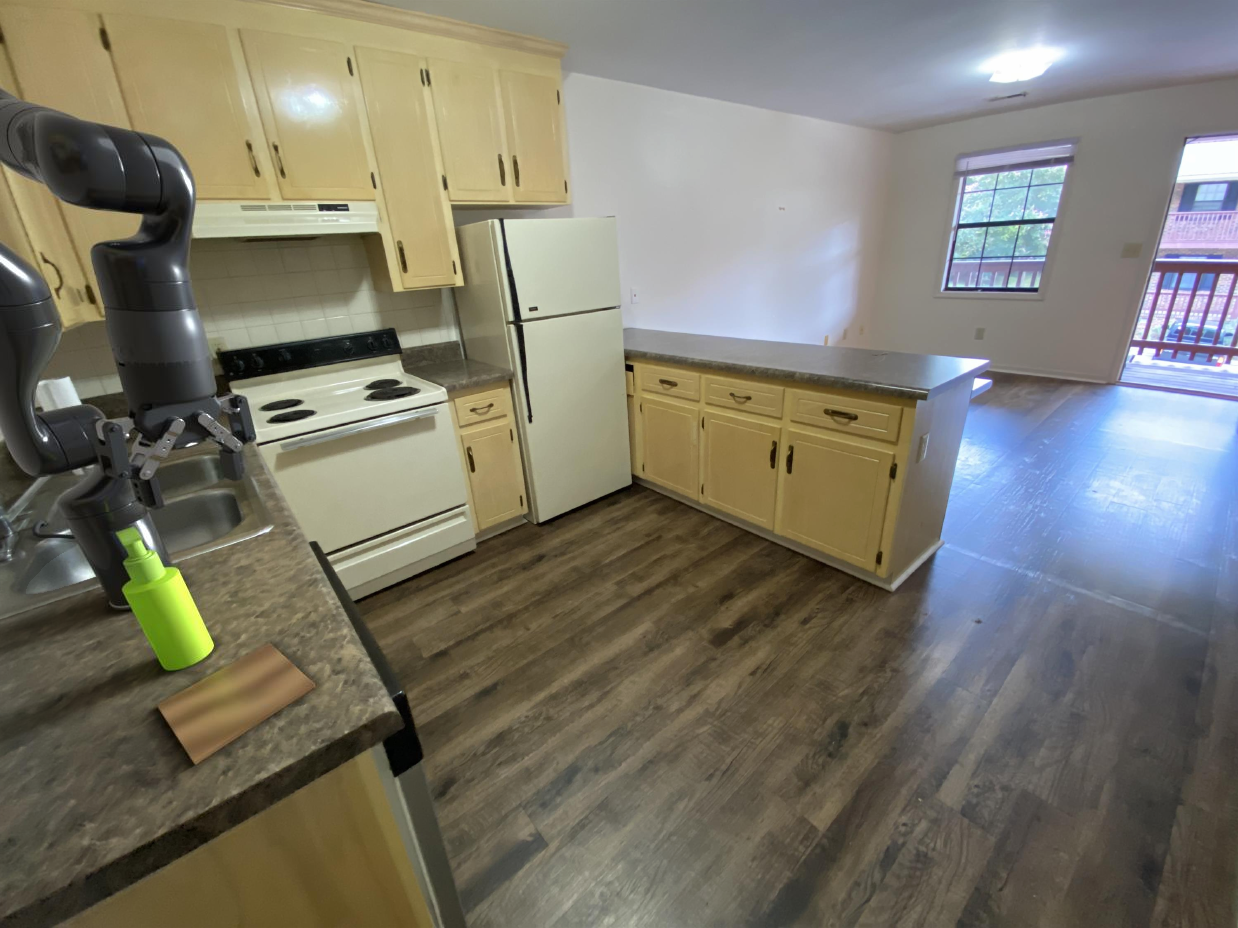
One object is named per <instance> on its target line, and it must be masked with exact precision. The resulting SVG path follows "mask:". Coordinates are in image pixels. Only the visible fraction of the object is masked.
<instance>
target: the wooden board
mask: <svg viewBox="0 0 1238 928" xmlns="http://www.w3.org/2000/svg"><path fill="white" fill-rule="evenodd" d="M314 689H316V685H315V683H314V682H313V681H312V680H311V679H310V678H308V676H306V674H304V673H303V672H302V671H301V670H300V669H299V668H298V667H296V666H295V665H294V664H293V663H292V662H291V661H290V660H289V659H288V658H287V657H286V656H285V655H283V653H282V652H280V651H279V650H278V649H277V648H275V646H273V644H271V643H270V642H268V643H266V644H265V645H263V646H261V647H259V648H257V649H256V650H253V651H251V652H249V653H248V654H245V656H242V657H241V658H239V659H238V660H236V661H234V662H232V663H230V664H228V665H227V666H226V665H225V666H224V667H223V668H221V669H219V670H217V671H216V672H213V673H212V674H209V675H208V676H206V677H205V678H203V679H200V681H197V682H196V683H194V684H192V685H190V686H188V687H186V688H185V689H183V690H181V691H179V692H178V693H176V694H174V695H172V696H170V697H168V698H166V699H165V700H163V701H161V702H159V703H157V704H156V707H157V708H158V711H159V713H160V714H161V715H162V716H163V718H164V719H165V721H166V723H167V724H168V726H169V727H170V729H171V731H172V732H173V734H174V735H175V737H176V738H177V740H178V741H179V743H180V745H181V746H182V748H183V750H185V752H186V754H187V755H188V757H189V759H190V760H191V762H192V763H193V765H194V766H197V765H198V764H199V763H201V762H203V761H204V760H205V759H207V758H208V757H210V756H212V755H214V754H215V753H216V752H218V751H219V750H221V749H223V748H224V747H225V746H227V745H228V744H230V743H232V742H233V741H235V740H236V739H238V738H239V737H241V736H242V735H244V734H245V733H247V732H249V731H250V730H252V729H253V728H254V727H257V726H258V725H260V724H262V723H263V722H264V721H265V720H267V719H268V718H270V717H272V716H273V715H275V714H276V713H278V712H279V711H281V710H283V709H284V708H285V707H287V706H289V705H290V704H291V703H293V702H295V701H296V700H298V699H299V698H301V697H302V696H304V695H306V694H307V693H308V692H311V691H312V690H314Z"/></svg>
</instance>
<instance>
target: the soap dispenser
mask: <svg viewBox="0 0 1238 928" xmlns="http://www.w3.org/2000/svg"><path fill="white" fill-rule="evenodd" d="M115 533H116V535H117V536H118V538H119V540H120V541H121V543H122V545H123V546H124V547H125V549H126V551H127V553H128V555H129V557H128V558H127V559H125V560H124V562H123V564H124V567H125V568H126V570H127V572H128V574H129V576H130V578H131V580H130V581H129V582H127V583H126V584H125V585H124V586H123V588H122V592H123V593H124V595H125V597H126V599H127V601H128V603H129V605H130V607H131V608H132V609H131V610H132V613H133V614H134V616H135V618H136V620H137V622H138V623H139V626H140V627H141V629H142V631H143V633H144V635H145V636H146V637H145V638H147V641H148V642H149V644H150V646H151V648H152V650H153V651H154V653H155V655H156V657H157V659H158V661H159V663H160V665H161V666H162V669H164V670H166V671H178V670H182V669H185V668H188V667H191V666H193V665H195V664H197V663H198V662H200V661H202V660H204V659H205V658H206V657H207V656H208V655H209V654H210V653H211V652H212V651H213V649H214V646H215V645H214V641H213V639H212V637H211V635H210V633H209V631H208V628H207V627H206V625H205V623H204V620H203V618H202V615H201V614H200V611H199V610H198V607H197V605H196V604H195V601H194V600H193V597H192V595H191V593H190V591H189V588H188V587H187V585H186V582H185V580H184V578H183V576H182V574H181V572H180V569H179V568H177V567H176V566H174V567H166V568H164V567H163V565H162V563H161V560H160V558H159V556H158V554H157V552H156V551H152V550H151V551H149V550H146V549H145V547H144V545H143V543H142V541H141V540H142V538H141V536H140V534H139V533H138V531H137V530H136V528H135V527H131V528H128V529H125V530H122V531H118V532H115Z"/></svg>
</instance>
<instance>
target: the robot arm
mask: <svg viewBox="0 0 1238 928" xmlns="http://www.w3.org/2000/svg"><path fill="white" fill-rule="evenodd" d="M0 163H1V164H2V165H4V166H6V168H8V169H9V170H11V171H13V172H14V173H17V174H18V175H20V176H21V177H24V178H26V179H29V180H31V181H33V182H36V183H38V184H42V185H44V186H45V187H46V188H47V189H48V190H49V192H50V193H51V194H52V195H53V196H54V197H56V198H57V199H58V200H59V201H61V202H63V203H66V204H68V205H71V206H75V207H78V208H83V209H88V210H93V211H102V212H114V213H124V214H132V215H133V214H134V215H142V216H141V221H140V224H139V227H138V229H137V232H136V233H135V234H134V235H131V236H129V237H123V238H116V239H108V240H102V241H98V242H96V243H94V244H93V245H92V246H91V247H90V250H89V251H90V252H89V253H90V254H89V255H90V261H91V266H92V270H93V273H94V276H95V280H96V284H97V288H98V292H99V295H100V299H101V302H102V305H103V311H104V316H105V318H104V319H105V328H106V334H107V339H108V341H109V345H110V349H111V352H112V356H113V360H114V363H115V367H116V371H117V374H118V377H119V381H120V384H121V388H122V392H123V395H124V398H125V400H126V402H127V404H128V408H129V409H128V413H127V416H124V417H117V418H112V419H111V418H110V419H108V418H107V417H106V415H105V414H104V413H103V411H102V410H100V409H99V408H98V407H96V406H94V405H92V404H87V403H86V404H85V403H83V404H76V405H71V406H65V407H60V408H55V409H50V410H44V411H41V412H36V395H37V389H38V385H39V383H40V381H41V378H42V376H43V374H44V372H45V370H46V369H47V367H48V365H49V364H50V362H51V360H52V358H53V357H54V354H55V352H56V350H57V348H58V347H59V344H60V341H61V338H62V336H63V335H62V334H63V322H62V319H61V317H60V314H59V313H60V312H59V310H58V307H57V305H56V302H55V298H54V296H53V293H52V290H51V289H50V285H49V283H48V281H47V280H46V278H45V276H43V274H42V273H41V272H40V271H39V270H38V269H37V268H36V266H35V265H33V264H32V263H31V262H29V261H28V260H27V259H26V258H25V257H23V256H22V255H21V254H20V253H19V252H18V251H16V250H15V249H14V248H12V247H11V246H9V245H8V244H7V243H6V242H4V241H3V240H1V239H0V431H1V434H2V437H3V439H4V441H5V444H6V447H7V449H8V452H9V453H10V455H11V456H12V459H13V460H14V461H15V463H16V464H17V466H18V467H19V468H20V469H21V470H22V471H23V472H25V473H26V474H28V475H29V476H32V477H34V478H48V477H53V476H57V475H62V474H65V473H68V472H69V473H70V472H72V471H76V470H80V469H84V468H88V467H91V466H92V470H91V472H90V473H89V474H88V475H87V477H86V478H84V479H83V480H82V481H81V482H79V483H78V484H77V485H75V486H74V487H72V488H70V489H69V490H67V491H66V492H64V493H63V494H61V496H60V497H59V498H58V499H57V500H56V506H57V509H58V510H59V513H60V514H61V516H62V518H63V520H64V521H65V523H66V525H67V527H68V529H69V530H70V532H71V534H67V533H65V534H64V533H41V532H40V527H41V526H46V525H47V524H48V523H47V522H46V521H45V520H43V519H41V520H37V521H36V522H35V523H34V524H33V527H32V534H33V536H34V537H36V538H39V539H67V540H75V541H76V543H77V545H78V547H79V548H80V550H81V552H82V554H83V556H84V558H85V559H86V561H87V563H88V565H89V566H90V568H91V570H92V572H93V574H94V575H95V577H96V579H97V581H98V583H99V584H100V587H101V589H102V590H103V592H104V594H105V596H106V598H107V599H108V601H109V605H110V607H111V608H112V609H113V610H114V611H129V610H132V608H131V607H130V605H129V603H128V601H127V599H126V597H125V595H124V593H123V592H122V588H123V586H124V585H125V584H126V583H127V582H129V581H130V580H131V578H130V576H129V574H128V572H127V570H126V568H125V567H124V564H123V562H124V560H125V559H127V558H128V557H129V555H128V553H127V551H126V549H125V547H124V546H123V545H122V543H121V541H120V540H119V538H118V536H117V535H116V533H115V532H118V531H122V530H125V529H128V528H131V527H135V528H136V530H137V531H138V533H139V534H140V536H141V538H142V540H141V541H142V543H143V545H144V547H145V549H146V550H149V551H151V550H152V551H156V552H157V554H158V556H159V558H160V560H161V563H162V565H163V567H164V568H166V567H175V564H174V562H173V560H172V558H171V555H170V554H169V552H168V550H167V548H166V545H165V543H164V541H163V539H162V537H161V535H160V533H159V531H158V528H157V527H156V525H155V522H154V520H153V518H152V516H151V514H150V512H149V510H148V509H151V510H153V511H157V510H160V509H163V508H165V502H164V497H163V494H162V492H161V488H160V484H159V480H158V477H156V476H154V475H155V473H156V471H157V469H158V467H159V465H160V463H161V462H162V461H164V460H166V459H167V457H168V456H169V454H170V451H171V450H172V449H173V450H178V449H182V448H185V447H184V446H186V445H188V444H190V443H197V444H200V443H204V442H206V441H207V439H209V440H210V441H211V442H213V443H214V444H216V445H217V446H218V447H220V448H221V449H218V455H219V458H220V464H221V468H222V472H223V473H222V474H223V476H224V478H225V479H227V480H230V481H233V482H238V481H241V480H242V479H243V475H244V474H245V470H246V469H245V464H244V459H243V453H242V450H243V448H244V446H245V445H247V444H248V443H254V442H255V441H256V440H257V434H256V433H257V432H256V429H255V425H254V421H253V417H252V412H251V408H250V405H249V400H248V398H247V396H245V395H242V394H238V393H235V392H230V391H226V392H224V393H223V394H222V396H220V397H217V395H216V393H217V391H218V386H217V383H216V378H215V372H214V368H213V362H212V358H211V353H210V347H209V343H208V338H207V332H206V329H205V326H204V324H203V321H202V318H201V316H200V313H199V308H198V304H197V299H196V294H195V290H194V284H193V281H192V276H191V270H190V261H191V260H190V258H191V247H192V235H193V234H192V233H193V227H194V226H193V225H194V219H195V212H196V204H197V186H196V185H197V183H196V180H195V177H194V173H193V170H192V169H191V166H190V164H189V163H188V160H186V158H185V157H184V155H183V154H182V153H181V152H180V150H179V149H178V148H177V146H175V145H174V144H173V143H171V142H170V141H168V140H166V139H165V138H163V137H161V136H157V135H155V134H151V133H147V132H142V131H137V130H132V129H128V128H122V127H119V126H118V127H117V126H113V125H109V124H104V123H100V122H93V121H91V120H85V119H81V118H78V117H76V116H74V115H72V114H69V113H67V112H64V111H61V110H57V109H55V108H51V107H47V106H44V105H40V104H36V103H33V102H29V101H26V100H22V99H20V98H18V97H16V96H15V95H13V94H11V92H8V91H7V90H5V89H3V88H2V87H0ZM222 412H224V413H225V414H226V416H227V420H228V424H229V427H230V431H231V432H230V431H229V430H228V429H226V428H225V427H224V426H222V425H221V424H220V423H218V420H219V419H220V416H221V413H222ZM132 429H133V430H135V431H136V432H138V435H137V437H136V438H135V441H134V443H133V444H132V446H131V455H130V457H129V453H128V448H127V444H126V441H127V440H128V439H130V436H131V435H130V431H131V430H132ZM153 443H154V444H155V445H154V446H153V447H152V445H153Z"/></svg>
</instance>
